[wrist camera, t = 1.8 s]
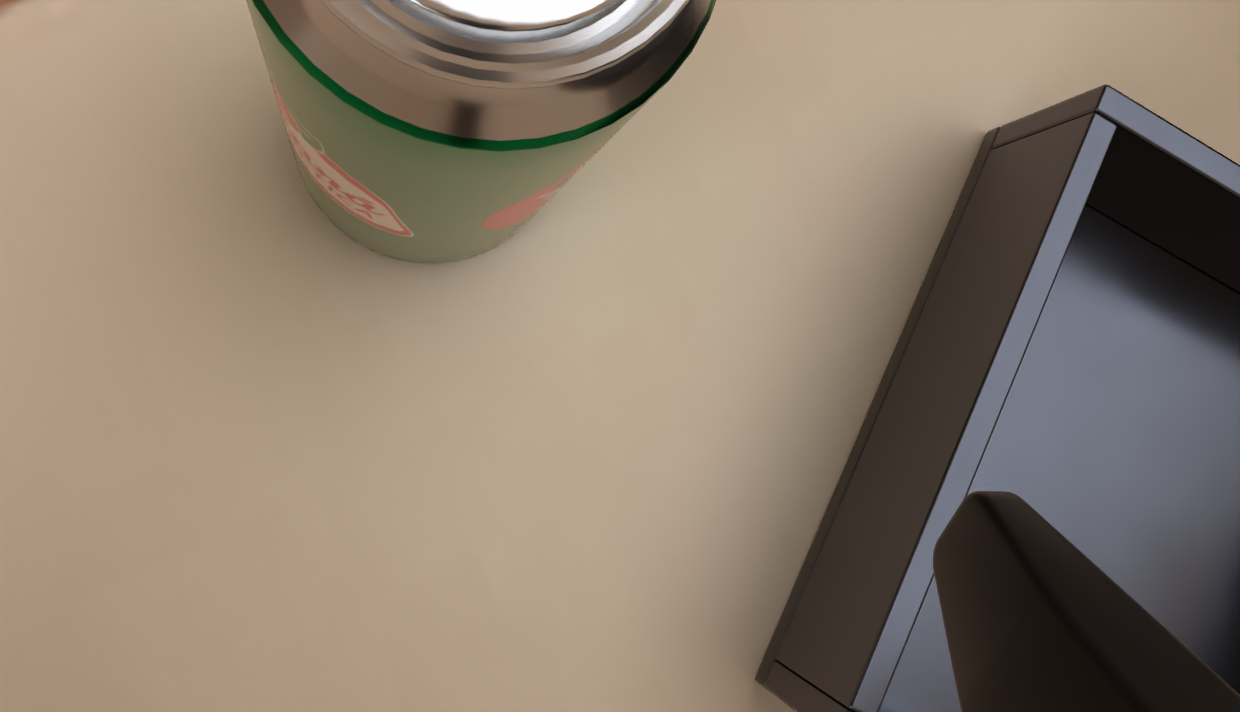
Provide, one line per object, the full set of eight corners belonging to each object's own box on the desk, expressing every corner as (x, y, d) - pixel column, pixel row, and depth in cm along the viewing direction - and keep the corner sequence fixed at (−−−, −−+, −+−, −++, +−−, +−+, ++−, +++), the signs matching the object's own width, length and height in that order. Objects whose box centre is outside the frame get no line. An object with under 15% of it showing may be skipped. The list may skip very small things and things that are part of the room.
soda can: (253, 54, 20) (107, -379, 9) (500, -18, 22) (659, -485, 10) (349, 302, 21) (328, 201, 9) (587, 218, 22) (840, 32, 10)
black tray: (1233, 888, 25) (1391, 980, 21) (753, 680, 23) (834, 741, 19) (1415, 380, 27) (1594, 379, 23) (987, 130, 24) (1106, 81, 20)
